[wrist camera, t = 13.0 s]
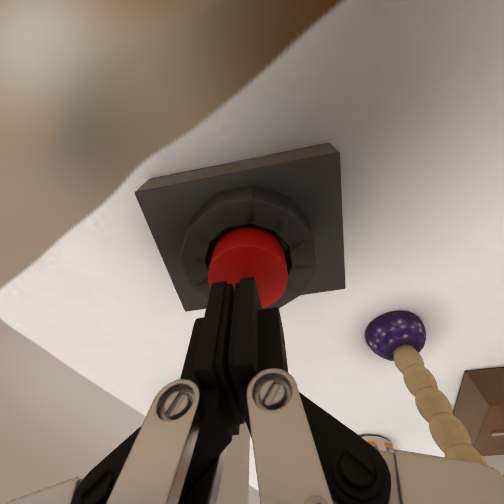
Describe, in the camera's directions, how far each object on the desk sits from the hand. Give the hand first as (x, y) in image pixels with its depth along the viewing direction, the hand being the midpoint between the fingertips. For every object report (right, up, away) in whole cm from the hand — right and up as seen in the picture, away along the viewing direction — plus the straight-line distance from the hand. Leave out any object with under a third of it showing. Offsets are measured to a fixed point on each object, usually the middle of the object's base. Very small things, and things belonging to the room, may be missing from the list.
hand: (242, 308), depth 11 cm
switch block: (0, +4, +6) cm, 7 cm away
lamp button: (0, +2, +3) cm, 3 cm away
